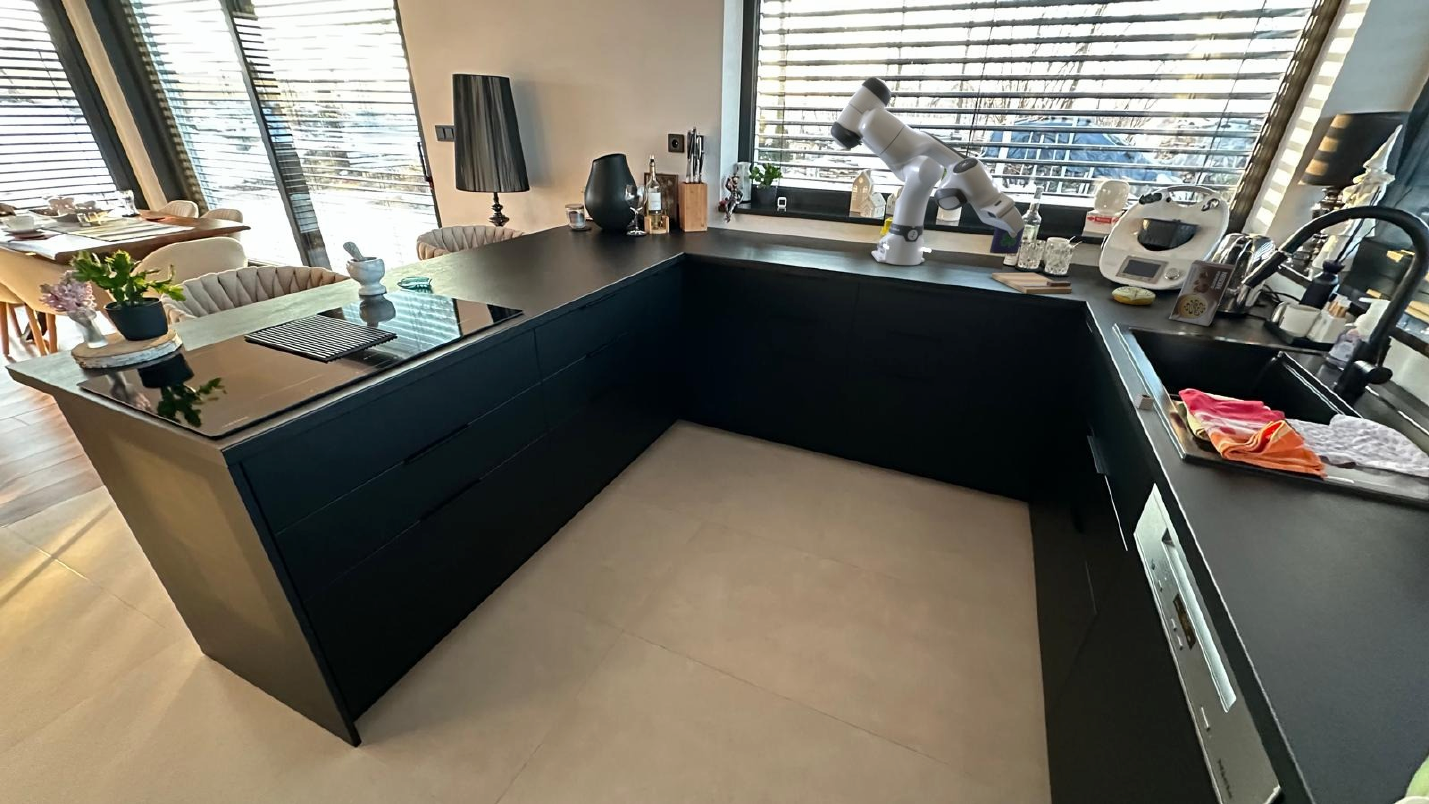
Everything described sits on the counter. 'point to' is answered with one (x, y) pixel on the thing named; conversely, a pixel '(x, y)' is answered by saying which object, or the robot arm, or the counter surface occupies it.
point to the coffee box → (1202, 292)
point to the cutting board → (1029, 282)
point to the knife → (1049, 284)
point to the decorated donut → (1133, 295)
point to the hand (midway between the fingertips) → (1010, 234)
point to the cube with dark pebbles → (1144, 401)
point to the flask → (1005, 242)
